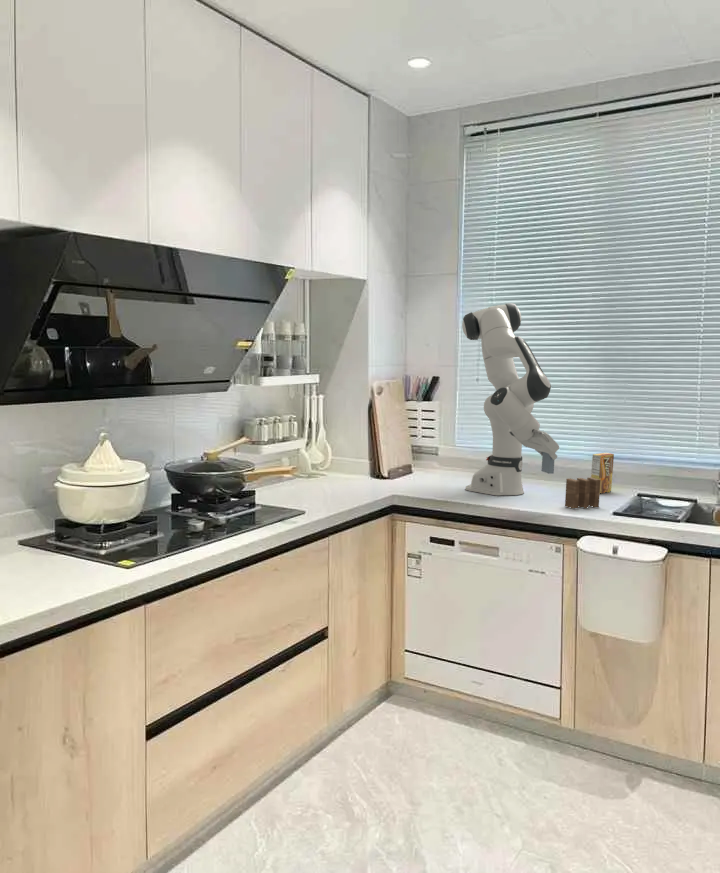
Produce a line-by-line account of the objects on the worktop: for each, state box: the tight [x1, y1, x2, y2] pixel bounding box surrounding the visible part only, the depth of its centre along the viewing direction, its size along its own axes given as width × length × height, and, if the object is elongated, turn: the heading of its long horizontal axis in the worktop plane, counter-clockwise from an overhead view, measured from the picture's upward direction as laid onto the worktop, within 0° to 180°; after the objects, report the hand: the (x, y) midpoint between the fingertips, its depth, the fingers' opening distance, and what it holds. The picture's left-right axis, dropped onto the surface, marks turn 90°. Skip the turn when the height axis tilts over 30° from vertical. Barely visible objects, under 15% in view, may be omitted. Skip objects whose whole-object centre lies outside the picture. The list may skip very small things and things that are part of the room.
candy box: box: [590, 452, 615, 494], centre depth 309 cm, size 9×4×15 cm, turn 129°
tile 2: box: [564, 478, 579, 509], centre depth 279 cm, size 2×5×10 cm, turn 22°
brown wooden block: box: [586, 476, 601, 508], centre depth 282 cm, size 2×5×10 cm, turn 22°
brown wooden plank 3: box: [576, 477, 590, 509], centre depth 281 cm, size 2×5×10 cm, turn 22°
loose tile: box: [540, 452, 555, 475], centre depth 270 cm, size 2×5×10 cm, turn 17°
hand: (550, 456), depth 270 cm, fingers closed on loose tile, 5 cm apart
